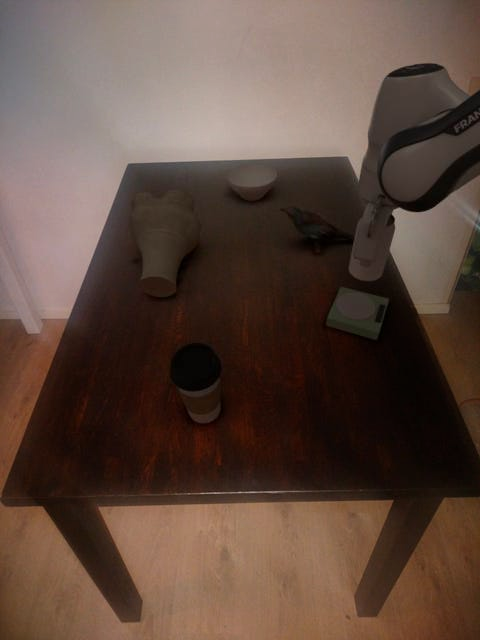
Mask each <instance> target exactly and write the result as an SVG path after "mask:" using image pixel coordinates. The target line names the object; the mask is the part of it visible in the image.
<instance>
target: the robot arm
mask: <svg viewBox="0 0 480 640" xmlns="http://www.w3.org/2000/svg"><path fill="white" fill-rule="evenodd" d="M367 130H368V131H367V148H366V151H365V154H364V155H363V158H362V161H361V167H360V173H359V177H358V183H357V188H356V189H357V193H358V195H359V196H360V197H361V198H362V201H363V203H364V204H365V205H366V208H365V210H364V212H365V213H364V212H363V213H364V215H363V217H362V220H361V223H360V227H359V231H358V235H357V239H356V244H355V248H354V253H353V256H354V258H355V259H357V260H361V261H360V265H361V266H364V267H369V266H370V264H371V262H374V261H375V260H376V257H377V255H378V252H379V249H380V246H381V244H382V241H383V238H384V234H385V231H386V227H387V224H388V222H389V219H390V216H391V214H392V215H393V213H394V210H397V209H401V210H404V211H406V212H410V213H423V212H427V211H430V210H432V209H434V208H435V207H436V206H438V205H439V204H440V203H442V202H443V201H444V200H445V199H447V198H448V197H449V196H450V195H451V194H453V193H454V192H456V191H458V190H459V189H461V188H463V187H464V186H465V185H467V184H469V183H470V182H471V181H473V180H474V179H476V178H477V177H479V176H480V89H478V90H477V91H476V92H474V93H473V94H471V95H470V94H468V93H467V92H465V91H464V90H463V89H461V88H460V87H459V86H458V85H457V84H456V83H455V81H454V80H452V78H451V76H450V74H449V72H448V70H447V69H446V67H445V66H444V65H441V64H438V63H433V62H428V63H426V62H425V63H423V62H422V63H414V64H411V65H410V64H409V65H405V66H401V67H398V68H397V69H395V70H392V71H390V72H389V73H387V74H386V75H385V76H384V78H383V80H382V81H381V83H380V85H379V87H378V91H377V93H376V96H375V99H374V103H373V107H372V110H371V115H370V119H369V125H368V129H367Z"/></svg>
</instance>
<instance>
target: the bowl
mask: <svg viewBox="0 0 480 640" xmlns="http://www.w3.org/2000/svg"><path fill="white" fill-rule="evenodd" d="M277 178H278V171H277V170H276V169H275V168H274V167H273V166H270V165H268V164H264V163H253V162H252V163H243V164H239V165H236V166H234V167H232V168H231V169H229V171H227V173H226V180H227V183H228V185H229V186H230V188H231V189H232V190H233V191H234V192H235V193H236V194H237V195H239V196H240V198H242V200H245V201H250V202H254V201H259V200H261V199H262V198H264V196H265V195H266V194H267V192H269V191H270V190H272V188H273V186H274V185H275V184H276V182H277Z"/></svg>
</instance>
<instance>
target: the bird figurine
mask: <svg viewBox="0 0 480 640" xmlns="http://www.w3.org/2000/svg"><path fill="white" fill-rule="evenodd" d="M279 211H281V212H283V213H286V214H287V217H288V218H289V219H290V220H291V222H292V224H293V225H294V228H295V229H296V231H297V232H298V233H299V234H300V235H302V236H306V237H305V238H304V240H305V242H306V243H309V241H311V240H314V245H313V249H314V252H315V254H321V252H322V243H321V242H322V241H321V240H325V241H330V240H339V239H340V240H345V239H346V240H347V241H349V242H354V239H355V235H353V234H351V233H348V232H346V231H343V230H341V229H338V228H337V227H335V225H332V224H331V223H329V222H328V221H327V220H326V219H324V218H323V217H322V216H320V215H319V214H317V213H315V212H311V211H308V210H302V209H301V208H300V207H297V206H296V205H295V206H294V205H293V206H289V207H286V208H279Z"/></svg>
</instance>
